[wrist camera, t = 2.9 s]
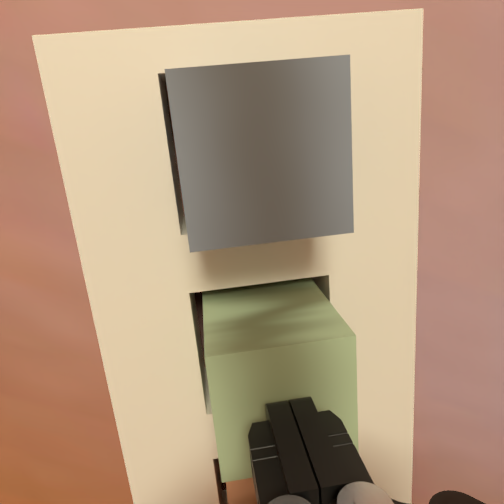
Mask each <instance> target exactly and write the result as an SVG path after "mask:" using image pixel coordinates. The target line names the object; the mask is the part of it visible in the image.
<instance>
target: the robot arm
mask: <svg viewBox="0 0 504 504" xmlns="http://www.w3.org/2000/svg"><path fill="white" fill-rule="evenodd" d="M265 410H266V421H261V422H255V423H252V425H251V428H250V431H249V433H248V442H249V451H250V460H251V469H252V477H253V483H254V488H255V494H256V500H257V504H408V503H402V502H399V501H396V500H394V499H391V498H390V496H389V495H388V494H387V493H386V492H385V491H384V490H383V489H382V488H380V487H379V486H377V485H375V484H374V482H373V481H372V479H371V477H370V475H369V473H368V471H367V469H366V467H365V465H364V463H363V461H362V459H361V457H360V455H359V453H358V451H357V449H356V447H355V445H354V444H353V442H352V440H351V438H350V436H349V434H348V432H347V430H346V428H345V426H344V424H343V422H342V420H341V419H340V418H339V417H338V416H336V415H335V414H334V413H333V412H331V411H330V410H326V411H320V412H318V411H317V409H316V407H315V404H314V402H313V400H312V398H311V397H303V398H297V399H291V400H288V401H287V400H285V401H279V402H273V403H267V404H265ZM429 504H485V503H483V502H481V501H479V500H477V499H475V498H473V497H471V496H469V495H467V494H464V493H461V492H457V491H442V492H439V493H437V494H435V495H434V496H433V497H432V498H431V499H430V502H429Z"/></svg>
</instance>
